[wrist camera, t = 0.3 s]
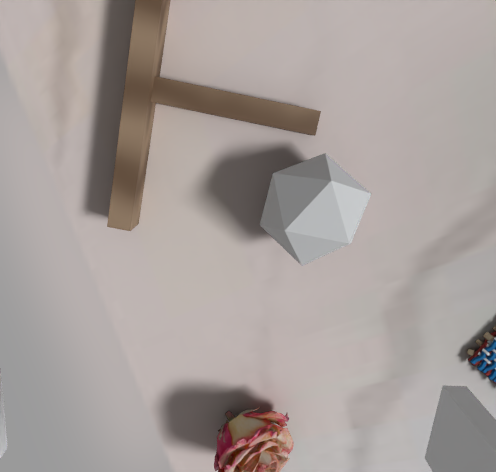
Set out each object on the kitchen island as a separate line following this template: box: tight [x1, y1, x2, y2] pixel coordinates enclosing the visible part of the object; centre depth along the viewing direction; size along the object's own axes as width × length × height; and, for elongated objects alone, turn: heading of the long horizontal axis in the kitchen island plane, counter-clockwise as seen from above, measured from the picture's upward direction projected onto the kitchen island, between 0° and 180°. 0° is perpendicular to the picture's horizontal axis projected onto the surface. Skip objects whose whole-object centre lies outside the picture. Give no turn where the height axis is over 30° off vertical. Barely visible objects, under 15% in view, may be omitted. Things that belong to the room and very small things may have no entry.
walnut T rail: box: [107, 0, 321, 231], centre depth 36 cm, size 24×16×3 cm, turn 169°
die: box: [260, 153, 371, 266], centre depth 36 cm, size 8×9×10 cm
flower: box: [214, 407, 294, 472], centre depth 42 cm, size 9×9×7 cm
